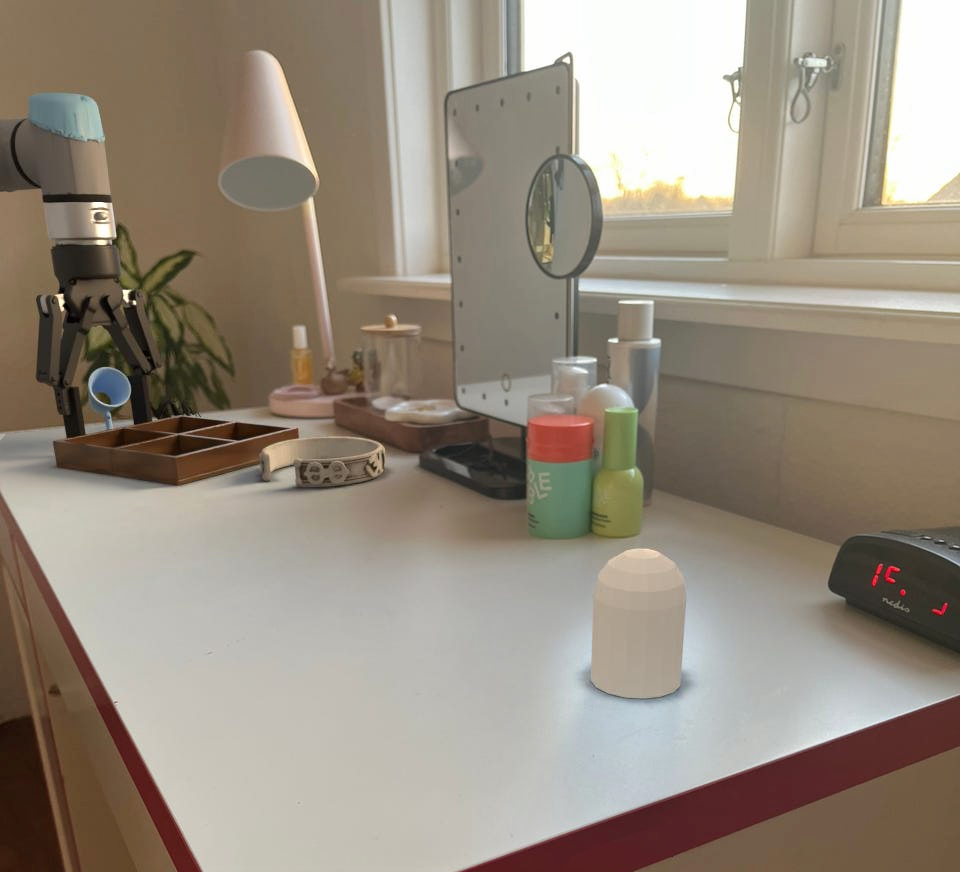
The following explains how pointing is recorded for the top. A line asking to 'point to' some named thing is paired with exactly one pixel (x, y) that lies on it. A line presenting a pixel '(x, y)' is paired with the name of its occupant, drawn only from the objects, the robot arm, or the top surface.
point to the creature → (163, 409)
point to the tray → (171, 448)
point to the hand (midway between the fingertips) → (111, 434)
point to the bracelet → (325, 460)
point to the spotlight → (108, 391)
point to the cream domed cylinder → (638, 625)
